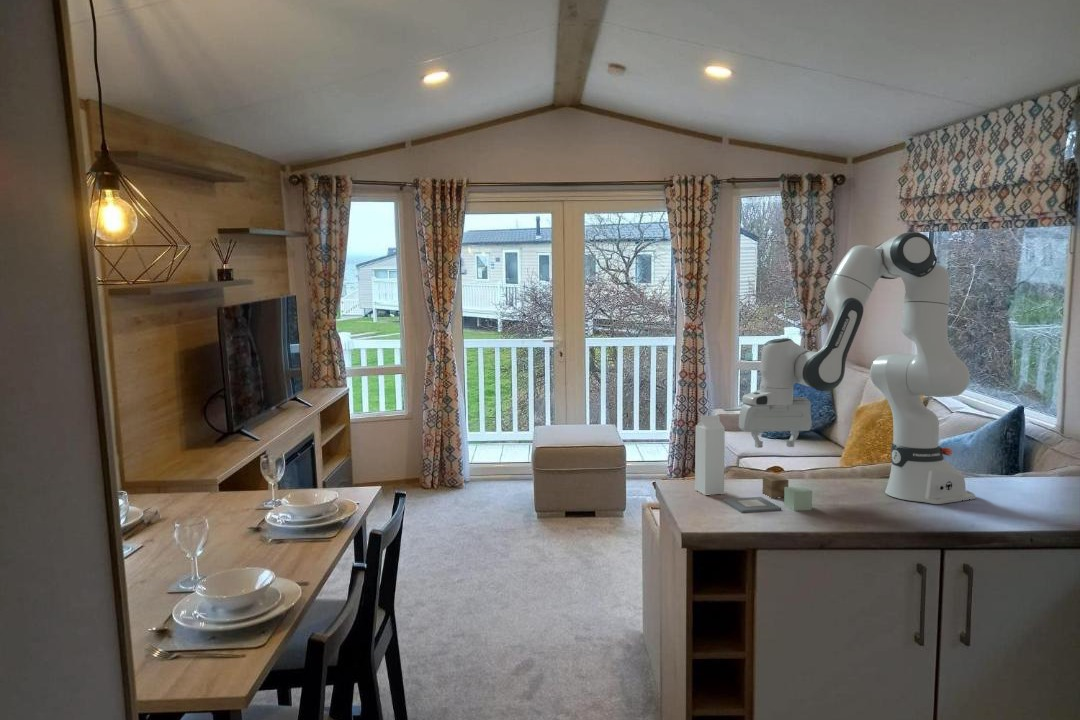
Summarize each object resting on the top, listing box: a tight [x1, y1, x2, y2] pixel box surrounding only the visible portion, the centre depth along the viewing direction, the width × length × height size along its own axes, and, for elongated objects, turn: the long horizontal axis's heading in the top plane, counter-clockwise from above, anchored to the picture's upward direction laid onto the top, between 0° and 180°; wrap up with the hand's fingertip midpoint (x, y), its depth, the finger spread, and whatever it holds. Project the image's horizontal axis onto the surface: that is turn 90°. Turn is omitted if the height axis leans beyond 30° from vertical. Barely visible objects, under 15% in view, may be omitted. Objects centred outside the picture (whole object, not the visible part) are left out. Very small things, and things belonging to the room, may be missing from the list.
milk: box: [694, 414, 726, 495], centre depth 204 cm, size 6×6×22 cm
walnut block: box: [762, 475, 789, 499], centre depth 201 cm, size 5×5×5 cm
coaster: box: [722, 496, 782, 514], centre depth 191 cm, size 11×11×1 cm
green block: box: [783, 485, 813, 512], centre depth 189 cm, size 5×5×5 cm
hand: (774, 447), depth 200 cm, fingers open, 8 cm apart
